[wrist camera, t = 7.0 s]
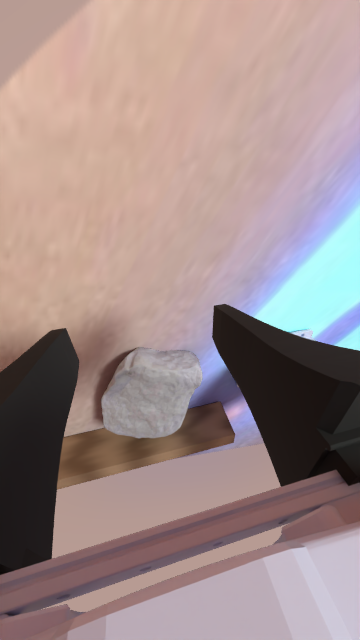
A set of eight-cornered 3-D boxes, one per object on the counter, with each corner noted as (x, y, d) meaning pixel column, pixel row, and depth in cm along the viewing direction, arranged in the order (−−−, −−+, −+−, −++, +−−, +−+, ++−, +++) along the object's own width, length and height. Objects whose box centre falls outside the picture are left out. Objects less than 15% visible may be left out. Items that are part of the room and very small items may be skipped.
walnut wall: (220, 401, 31) (235, 434, 27) (219, 409, 32) (233, 442, 28) (43, 441, 27) (29, 487, 23) (49, 449, 28) (37, 494, 24)
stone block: (104, 402, 29) (175, 415, 31) (92, 436, 25) (175, 448, 26) (119, 329, 24) (202, 349, 26) (108, 355, 20) (209, 376, 21)
